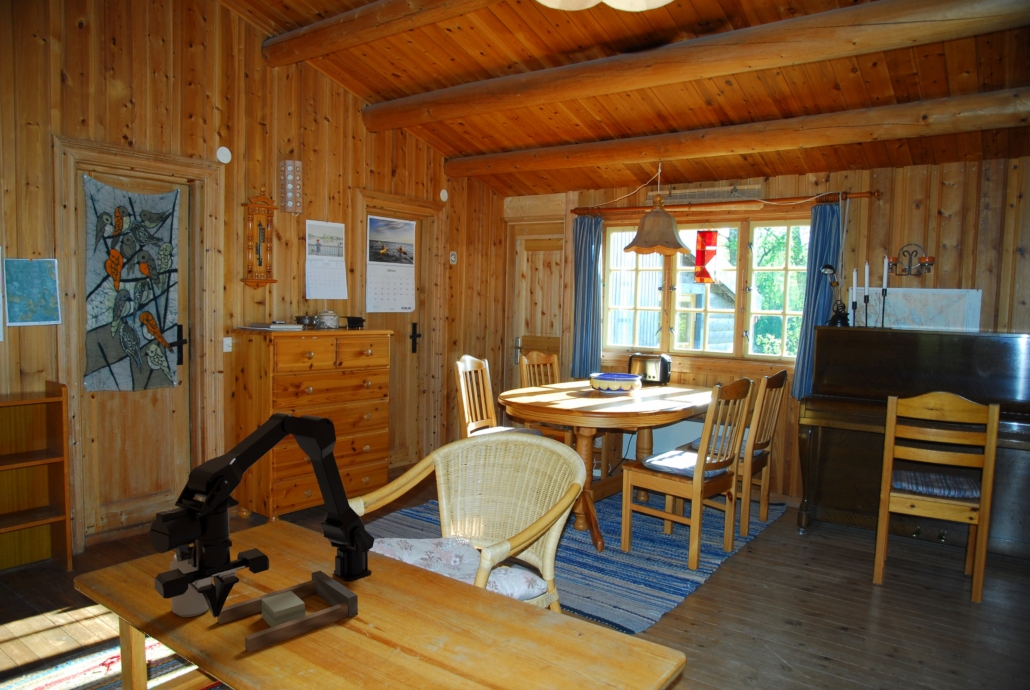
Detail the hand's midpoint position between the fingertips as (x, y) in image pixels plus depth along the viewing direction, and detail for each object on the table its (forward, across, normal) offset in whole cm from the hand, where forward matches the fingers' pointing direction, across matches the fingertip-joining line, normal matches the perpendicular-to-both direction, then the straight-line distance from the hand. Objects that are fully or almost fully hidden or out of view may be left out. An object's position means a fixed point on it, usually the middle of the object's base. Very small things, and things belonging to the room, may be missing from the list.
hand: (215, 616), depth 128 cm
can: (+5, -1, -16) cm, 17 cm away
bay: (+5, -14, 0) cm, 15 cm away
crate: (+5, -13, 0) cm, 14 cm away
